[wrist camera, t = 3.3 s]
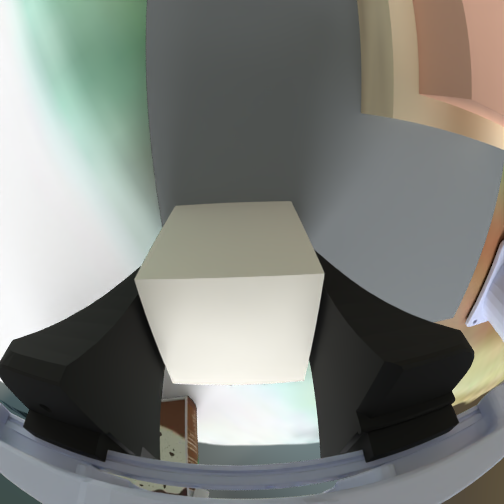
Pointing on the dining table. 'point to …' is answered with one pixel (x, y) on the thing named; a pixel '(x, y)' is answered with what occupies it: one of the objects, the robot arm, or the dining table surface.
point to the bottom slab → (406, 75)
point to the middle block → (462, 54)
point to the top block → (232, 293)
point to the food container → (176, 443)
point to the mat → (314, 145)
